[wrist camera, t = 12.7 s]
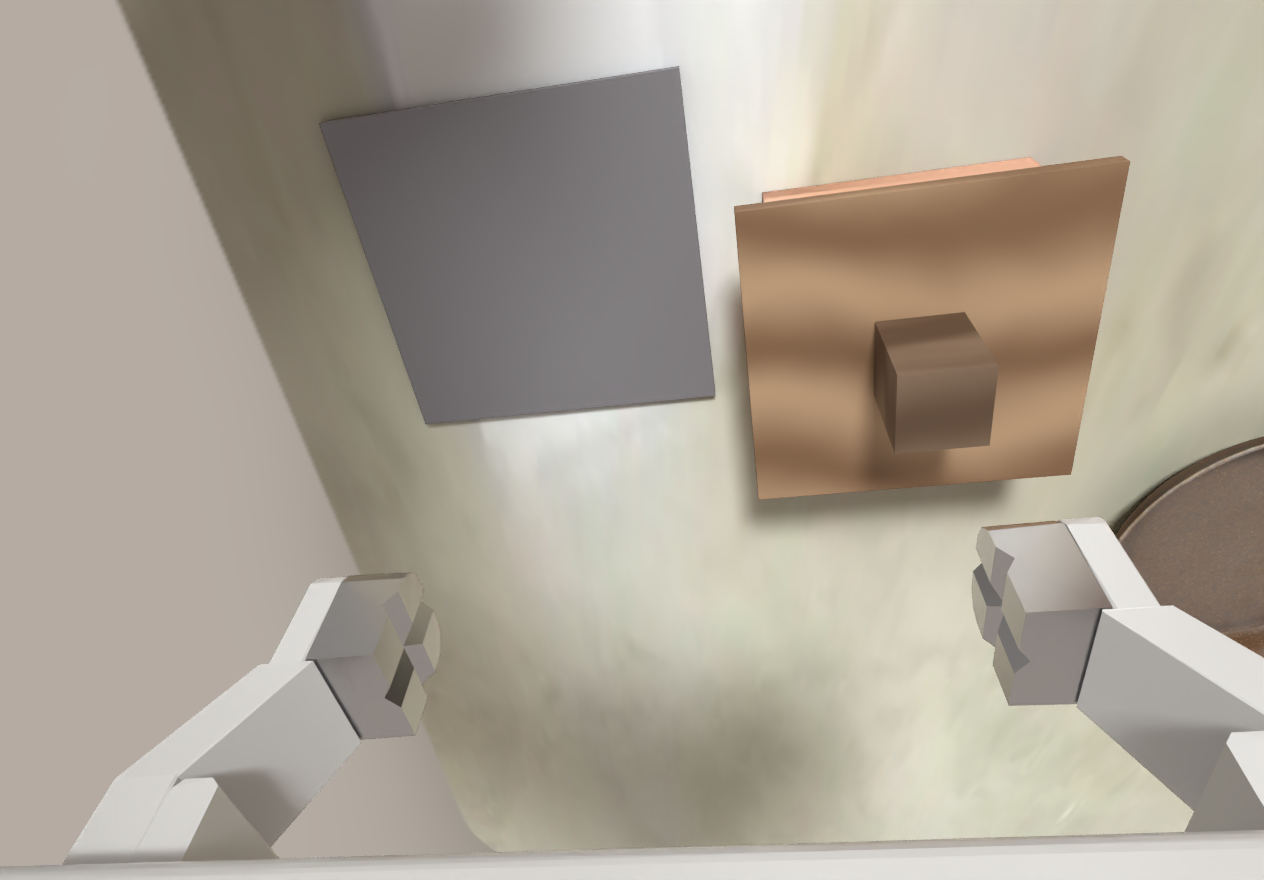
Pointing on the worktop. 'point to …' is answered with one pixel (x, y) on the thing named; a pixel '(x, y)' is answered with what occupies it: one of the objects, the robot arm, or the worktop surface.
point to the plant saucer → (1207, 542)
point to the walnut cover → (925, 327)
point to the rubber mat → (534, 245)
